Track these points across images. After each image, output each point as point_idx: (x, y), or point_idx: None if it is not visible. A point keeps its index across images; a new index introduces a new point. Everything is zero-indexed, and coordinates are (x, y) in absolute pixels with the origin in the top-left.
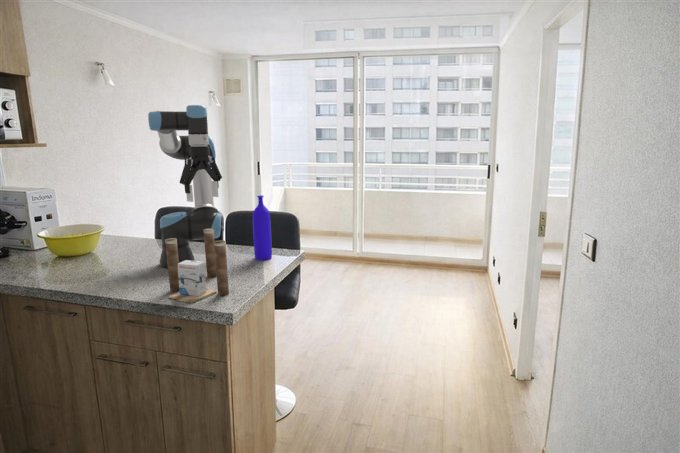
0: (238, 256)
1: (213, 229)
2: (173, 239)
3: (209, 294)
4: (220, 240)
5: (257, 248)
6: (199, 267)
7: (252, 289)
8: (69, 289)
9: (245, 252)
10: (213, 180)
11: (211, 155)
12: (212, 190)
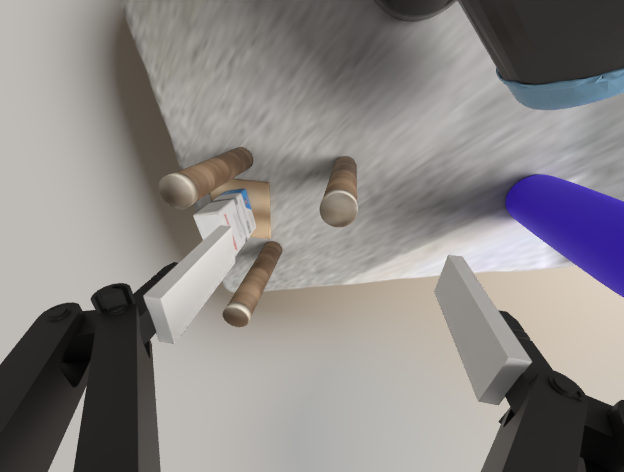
0: (549, 110)
1: (345, 225)
2: (180, 200)
3: (253, 236)
4: (244, 313)
5: (524, 207)
6: None
7: (311, 277)
8: None
9: (613, 99)
10: (540, 371)
11: None
12: (463, 288)
